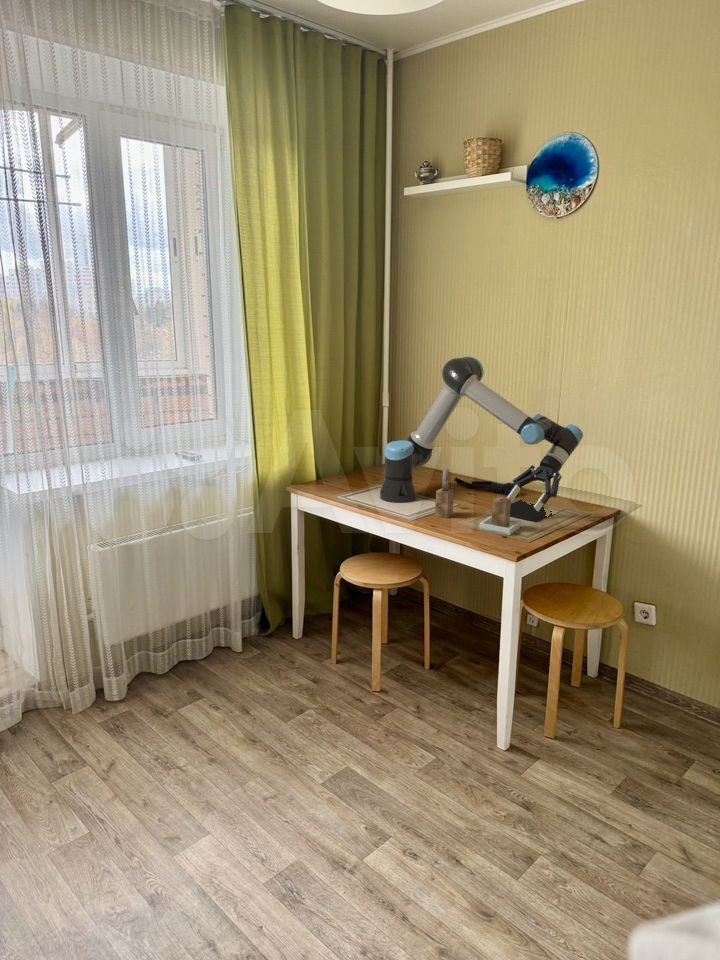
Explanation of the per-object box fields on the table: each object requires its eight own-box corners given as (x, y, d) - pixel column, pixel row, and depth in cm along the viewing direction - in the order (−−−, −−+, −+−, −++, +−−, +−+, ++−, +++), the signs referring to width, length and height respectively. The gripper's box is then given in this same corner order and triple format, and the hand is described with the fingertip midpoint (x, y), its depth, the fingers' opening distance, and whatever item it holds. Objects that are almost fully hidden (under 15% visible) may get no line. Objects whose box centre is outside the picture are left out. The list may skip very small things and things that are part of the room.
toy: (450, 489, 311) (511, 498, 293) (450, 478, 310) (512, 487, 292) (461, 485, 319) (521, 494, 300) (461, 474, 318) (522, 483, 299)
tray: (479, 529, 251) (479, 523, 250) (491, 521, 260) (491, 515, 260) (509, 535, 245) (510, 529, 244) (520, 527, 254) (521, 520, 254)
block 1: (435, 515, 267) (437, 470, 262) (440, 512, 271) (442, 467, 266) (447, 518, 264) (449, 472, 260) (452, 514, 268) (454, 469, 264)
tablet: (536, 522, 259) (489, 512, 271) (536, 524, 259) (488, 514, 271) (566, 508, 279) (521, 499, 291) (566, 510, 279) (521, 500, 292)
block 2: (491, 526, 252) (492, 500, 249) (496, 523, 256) (498, 497, 253) (504, 529, 249) (506, 502, 247) (509, 525, 253) (511, 499, 251)
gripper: (584, 473, 253) (552, 519, 248) (533, 460, 273) (502, 502, 269) (576, 461, 249) (543, 507, 244) (525, 448, 269) (493, 490, 265)
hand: (522, 504), depth 256 cm, fingers open, 13 cm apart
